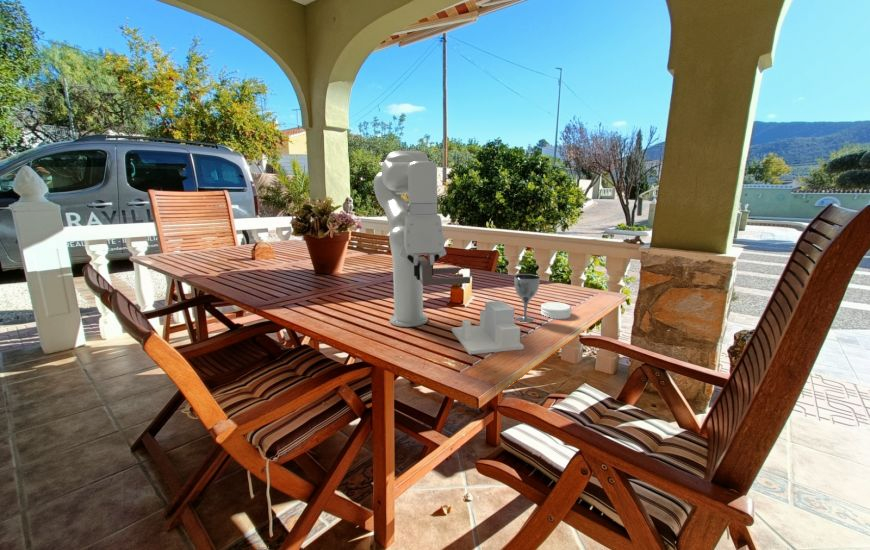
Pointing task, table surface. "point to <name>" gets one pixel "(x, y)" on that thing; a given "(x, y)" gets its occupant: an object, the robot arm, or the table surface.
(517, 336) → the stand
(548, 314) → the white round disc
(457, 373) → the table surface
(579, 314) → the table surface
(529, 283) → the wine glass
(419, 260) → the grey frame
